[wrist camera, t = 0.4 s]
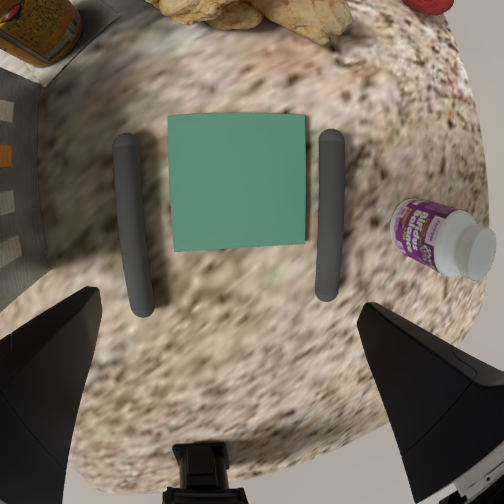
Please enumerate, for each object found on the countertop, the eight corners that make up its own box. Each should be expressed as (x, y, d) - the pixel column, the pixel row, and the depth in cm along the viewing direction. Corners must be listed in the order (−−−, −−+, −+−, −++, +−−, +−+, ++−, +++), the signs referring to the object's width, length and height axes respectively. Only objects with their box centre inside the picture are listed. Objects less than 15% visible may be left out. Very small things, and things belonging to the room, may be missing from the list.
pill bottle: (385, 201, 23) (466, 223, 14) (426, 194, 24) (503, 213, 15) (387, 258, 25) (458, 299, 16) (426, 247, 26) (496, 279, 16)
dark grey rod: (158, 309, 23) (155, 321, 21) (135, 310, 22) (130, 322, 20) (142, 132, 19) (136, 129, 17) (117, 136, 18) (108, 133, 16)
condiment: (15, 50, 14) (-61, 12, 2) (82, -15, 13) (36, -83, 2) (46, 88, 16) (-46, 51, 4) (121, 17, 15) (76, -69, 4)
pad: (302, 241, 23) (304, 243, 22) (175, 249, 22) (174, 252, 21) (302, 116, 20) (304, 115, 20) (168, 117, 19) (167, 115, 18)
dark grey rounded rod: (331, 294, 25) (341, 304, 23) (310, 297, 25) (319, 307, 23) (337, 131, 21) (349, 128, 19) (314, 129, 21) (324, 126, 19)
